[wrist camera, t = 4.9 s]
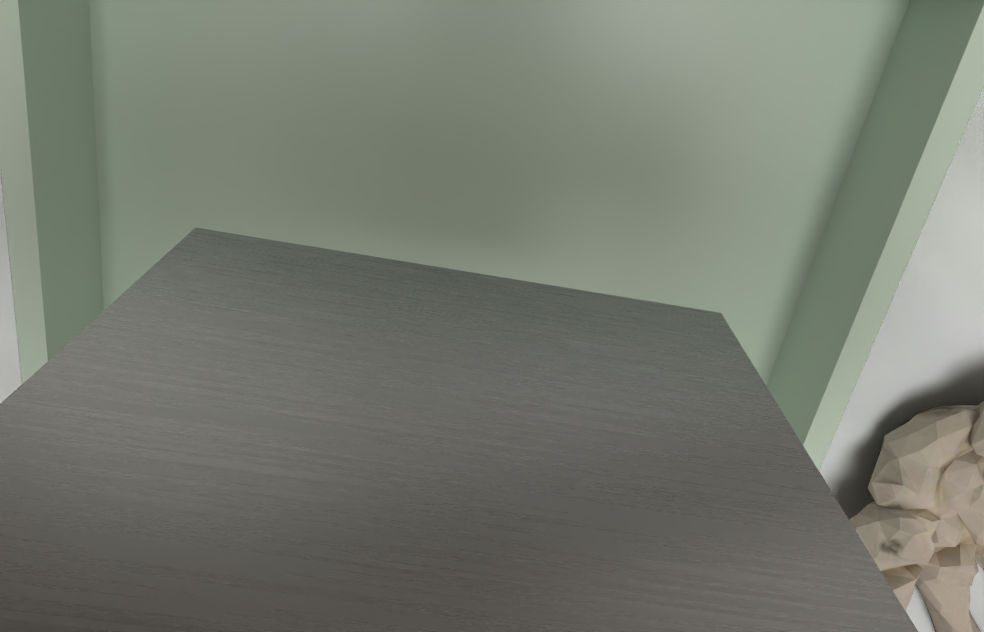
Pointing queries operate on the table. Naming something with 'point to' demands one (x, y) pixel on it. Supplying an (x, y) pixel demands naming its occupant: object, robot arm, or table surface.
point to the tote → (499, 152)
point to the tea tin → (411, 462)
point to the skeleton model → (930, 511)
